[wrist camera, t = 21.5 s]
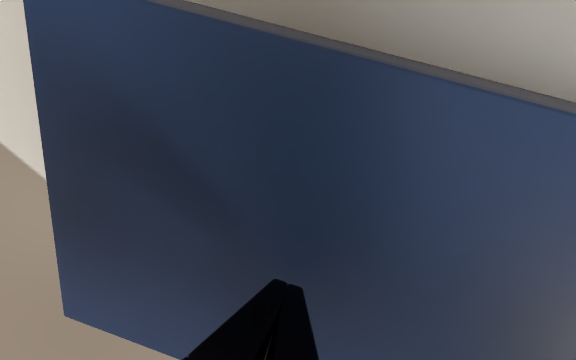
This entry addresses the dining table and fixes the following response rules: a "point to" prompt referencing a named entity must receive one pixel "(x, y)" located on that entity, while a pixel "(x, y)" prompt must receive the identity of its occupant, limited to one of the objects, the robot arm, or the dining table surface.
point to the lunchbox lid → (297, 189)
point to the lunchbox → (375, 54)
